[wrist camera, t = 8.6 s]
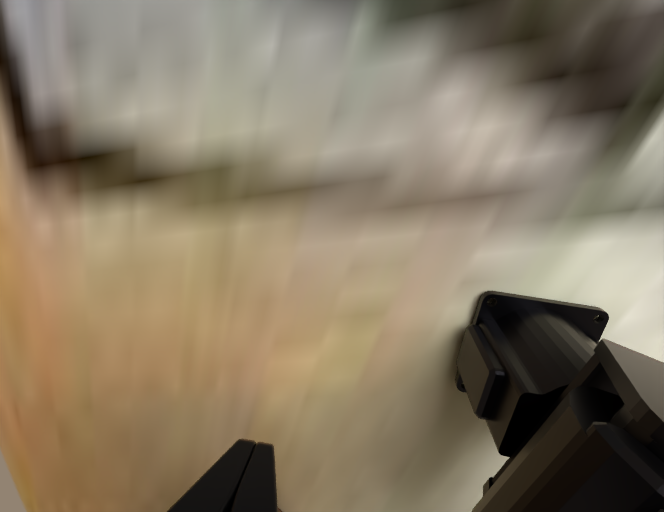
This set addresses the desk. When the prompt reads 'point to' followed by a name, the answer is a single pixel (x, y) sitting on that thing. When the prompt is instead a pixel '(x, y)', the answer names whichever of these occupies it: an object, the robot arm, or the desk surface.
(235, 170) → the desk surface
